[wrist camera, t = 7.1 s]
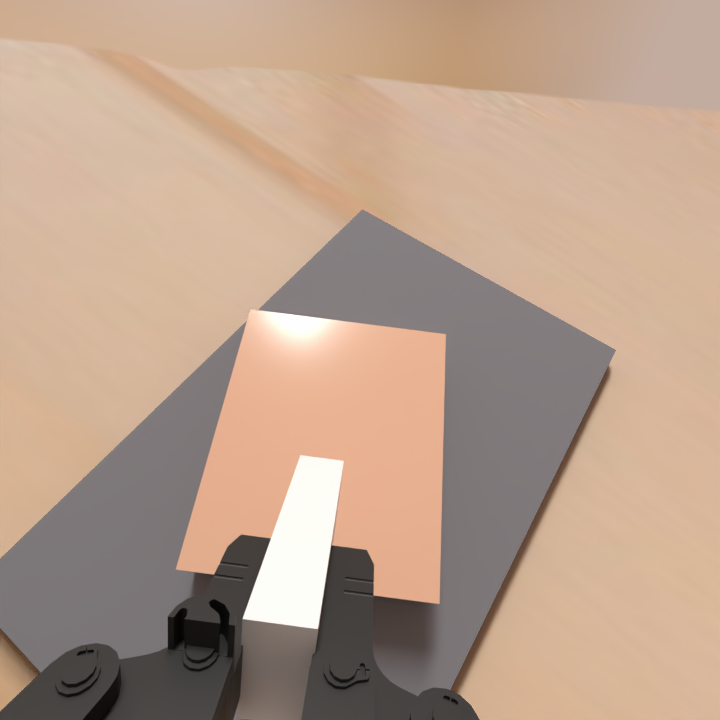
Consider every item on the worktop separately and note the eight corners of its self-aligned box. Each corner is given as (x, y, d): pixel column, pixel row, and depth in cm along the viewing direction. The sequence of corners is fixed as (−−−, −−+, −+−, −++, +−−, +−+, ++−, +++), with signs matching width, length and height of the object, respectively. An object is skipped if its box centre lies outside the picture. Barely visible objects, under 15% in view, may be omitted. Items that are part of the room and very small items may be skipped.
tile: (439, 604, 16) (445, 334, 22) (175, 569, 16) (250, 309, 22) (426, 602, 18) (435, 357, 24) (194, 572, 19) (257, 335, 24)
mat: (-16, 591, 19) (-34, 591, 18) (361, 220, 30) (362, 209, 29) (313, 949, 14) (312, 972, 14) (606, 358, 26) (615, 350, 25)
